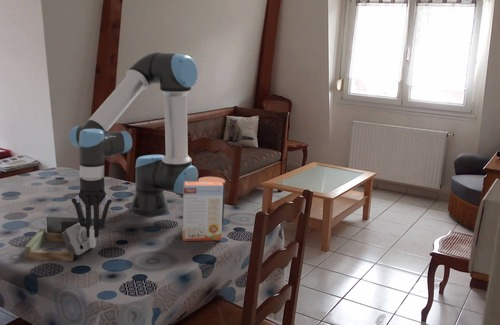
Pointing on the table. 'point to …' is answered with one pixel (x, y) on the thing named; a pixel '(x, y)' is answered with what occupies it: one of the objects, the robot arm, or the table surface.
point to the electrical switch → (76, 239)
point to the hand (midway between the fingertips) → (92, 246)
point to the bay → (36, 254)
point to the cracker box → (202, 211)
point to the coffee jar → (215, 179)
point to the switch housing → (63, 222)
